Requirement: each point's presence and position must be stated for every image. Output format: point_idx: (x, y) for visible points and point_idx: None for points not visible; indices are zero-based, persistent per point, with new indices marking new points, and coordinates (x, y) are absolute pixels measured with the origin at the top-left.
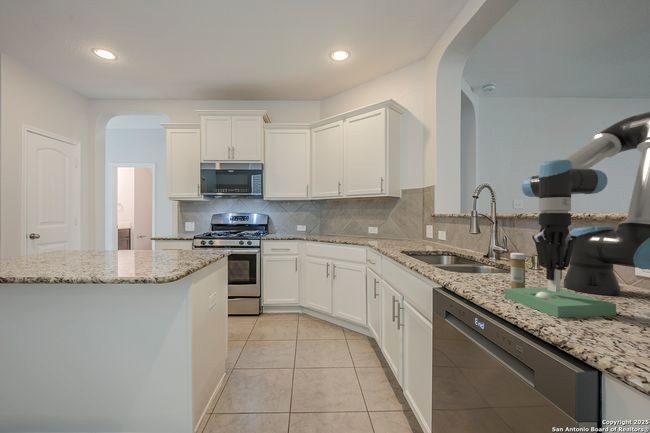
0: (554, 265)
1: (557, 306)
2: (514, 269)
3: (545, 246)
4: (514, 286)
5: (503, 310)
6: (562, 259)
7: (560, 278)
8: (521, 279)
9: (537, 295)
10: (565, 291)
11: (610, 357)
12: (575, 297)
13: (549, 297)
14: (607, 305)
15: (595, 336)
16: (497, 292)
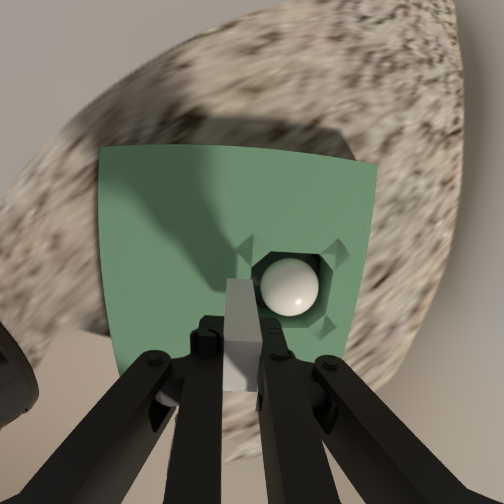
0: (278, 366)
1: (377, 166)
2: None
3: (427, 482)
4: None
5: (439, 257)
6: (192, 400)
7: (225, 310)
8: None
9: (316, 296)
10: (124, 328)
11: (439, 15)
12: (168, 250)
13: (293, 266)
14: (139, 145)
15: (389, 49)
16: None
